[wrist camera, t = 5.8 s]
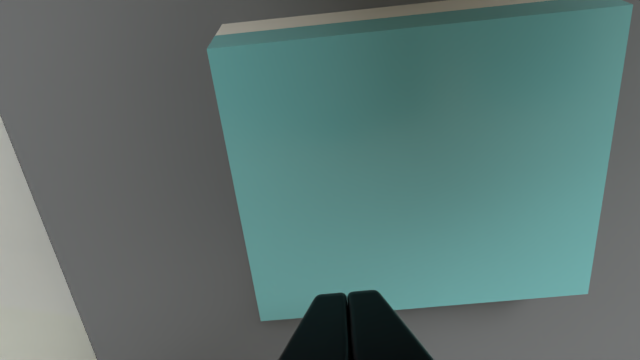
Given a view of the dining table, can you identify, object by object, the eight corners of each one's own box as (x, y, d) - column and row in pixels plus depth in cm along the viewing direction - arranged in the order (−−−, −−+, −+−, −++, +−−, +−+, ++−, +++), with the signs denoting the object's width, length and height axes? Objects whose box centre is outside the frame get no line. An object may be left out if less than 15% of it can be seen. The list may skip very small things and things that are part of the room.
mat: (676, 368, 16) (684, 379, 16) (126, 411, 17) (122, 422, 16) (939, -593, 8) (968, -613, 7) (-198, -428, 8) (-220, -442, 8)
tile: (267, 270, 14) (555, 244, 14) (260, 321, 12) (587, 294, 12) (222, 24, 11) (586, -15, 11) (206, 48, 9) (633, 4, 9)
